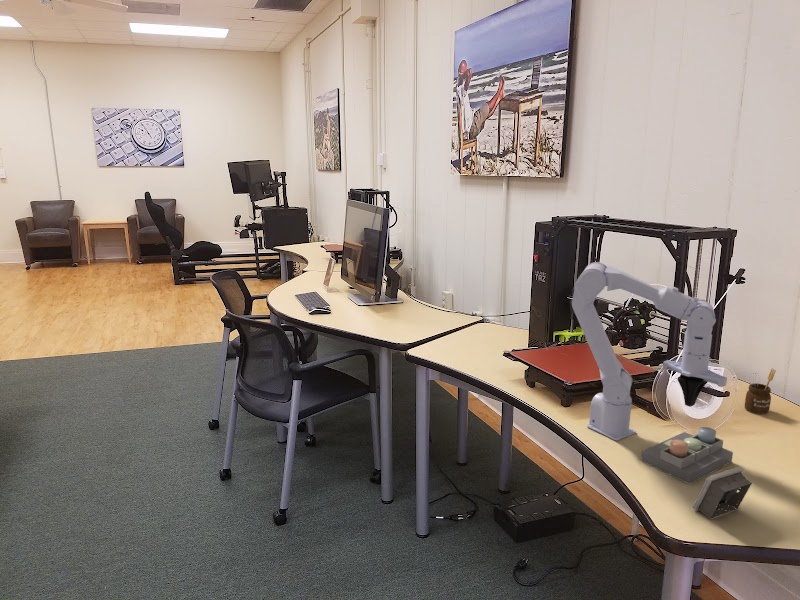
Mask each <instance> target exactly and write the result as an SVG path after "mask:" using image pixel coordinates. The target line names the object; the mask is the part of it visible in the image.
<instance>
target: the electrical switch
mask: <svg viewBox="0 0 800 600" xmlns="http://www.w3.org/2000/svg"><path fill="white" fill-rule="evenodd" d="M743 472H744V469H743V468H741V467H740V466H735V467H734V468H731V469H727V470H724V471H720V472H717V473H715V474H711V475H709V476H707V478H706V479H705V481H704V484H703V486H702V487H701V489H700V490H699V491H700V492H699V493H698V495H697V496H696V499H695V501H694V503H693V506H692V508H693V510H694V511H695V512H699V511H700V512H702V514H704V515H705V516H706V517H707V518H708V519H709V520H712V519H714V518H718V517H721V516H723V515H726V514H728V513H732V512H734V511H736V510H739V507H740V505H741V504H742V502H743V500H744V498H745V496H746V495H747V493H748V491H749V489H750V487H751V485H752V484H753V482H751V481H750V480H749V479H748V478H747V477H746V476H745V475H744V474H743Z"/></svg>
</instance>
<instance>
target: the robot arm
mask: <svg viewBox="0 0 800 600" xmlns="http://www.w3.org/2000/svg"><path fill="white" fill-rule="evenodd" d="M605 287H606V291H607V292H610V291H614V290H615V291H616V290H622V291H625V292H628V293H630V294H633V295H636V296H638V297H641V298H643V299H645V300H649V301H650V302H652V303H653V305H654V307H655V309H656V310H659V311H661V312H663V313H666V314H668V315H670V316H672V317H674V318H675V319H678V320H681V321H686V322H687V324H686V330H685V332H684V339H683V348H682V355H681V357H682V358H681V362H680V361H679V362H678V361H673V360H669V359H666V360H665V361H663V363H662V370H666V371H668V370H669V371H672V372H675V373H679V374H680V375H679V376H678V377H677V382H678V384H679V386H680V389H681V391H682V395H683V399H684V405H685V406H686V407H689V408H690V407H691V408H692V407H693V406H695V404H696V402H697V399H698V398H699V395H700V393H701V392H702V390H703V389H704V387H705V386H706V385H707V384H708V383H711V384H714V385H716V386H717V387H720V388H724V387H725V386H727V382H728V381H727V380H728V378H727V377H726V376H723V375H721V374H718V373H717V372H714V371H712V370H710V369H709V363H710V354H711V347H712V340H713V338H712V337H713V334H712V332H713V327H714V325H715V324H716V322H717V319H716V314H715V310H714V307H713V305H712V304H711V303H710V302H708V301H707V300H706V299H703V298H702V299H701V298H699V297H697V296H694V297H692V296H689V295H688V294H685V293H683V292H680V291H679V287H675V286H673V287H671V288H670V287H669V286H666V287H662V288H657V287H655V286H653V285H652V284H650V283H648V282H645V281H643V280H641V279H639V278H637V277H635V276H633V275H631V274H628V273H627V272H624V271H623V270H620V269H618V268H616V267H614V266H611V265H606V264H604V263H602V262H600V261H596V262H591V263H589V264H588V265H586V266H585V268H584V270H583V271H582V273H581V274H580V275H579V276H578V278H577V279H576V281H575V284H574V290H573V291H574V292H573V295H572V301H571V307H572V310H573V312H574V314H575V316H576V318H577V322H578V323H579V326H580V327H581V330H582V332H583V333H582V334H583V335H584V337H585V339H586V342H587V343H588V346H589V348H590V351H591V353H592V355H593V357H594V359H595V362H596V364H597V367H598V369H599V370H598V371H599V375H600V377H599V378H600V380H601V383H602V387H603V388H602V392H598V393H596V394H595V395H594V396H593V397H592V400H591V403H590V407H589V424H587V425H586V427H587V428H588V429H591V430H593V431H595V432H597V433H599V434H602V435H604V436H606V437H608V438H610V439H611V440H613V441H618V442H619V441H620V440H623V439H624V438H627V437H629V436H632V435H634V434H637V430H635V429H633V428H631V427H630V422H631V412H632V402H633V399H632V396H631V387H632V384H633V378H632V375H631V374H630V373H629V371H627V370H626V369H625V368H624V366H623V364H622V363H621V362H620V361H619V359H618V358H617V355H616V353H615V352H614V351H615V350H614V349H613V346H612V344H611V342H610V340H609V337H608V335H607V333H606V330H605V328H604V325H603V323H602V320H601V319H600V318H601V317H600V316H599V313H598V312H597V309H596V306H595V305H594V302H595V300H596V298H597V296H598V295H600V293H602V291H603V290H604V289H605Z"/></svg>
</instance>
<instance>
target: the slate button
mask: <svg viewBox="0 0 800 600" xmlns="http://www.w3.org/2000/svg"><path fill="white" fill-rule="evenodd" d="M697 434H698V440H700V441H701V442H704V443H714V442H715V437H716V438H717V436H716V435H717V430H715V429H714V428H712V427H708V426H701V427H698V432H697Z"/></svg>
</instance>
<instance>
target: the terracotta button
mask: <svg viewBox="0 0 800 600" xmlns="http://www.w3.org/2000/svg"><path fill="white" fill-rule="evenodd" d="M687 450H688V444H687V443H686V442H684V441H682V440H671V441H670V450H669V452H670V454H672V455H673V456H676V457H686V456H687Z"/></svg>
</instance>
